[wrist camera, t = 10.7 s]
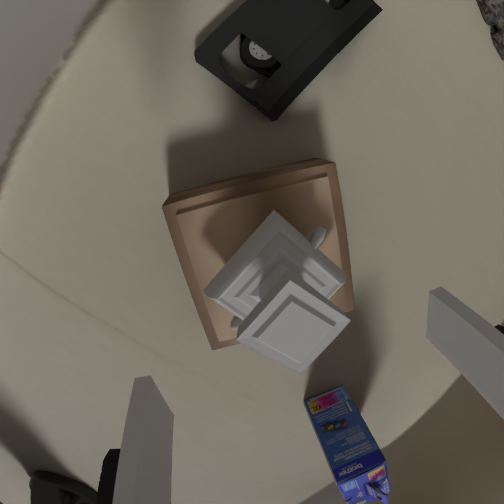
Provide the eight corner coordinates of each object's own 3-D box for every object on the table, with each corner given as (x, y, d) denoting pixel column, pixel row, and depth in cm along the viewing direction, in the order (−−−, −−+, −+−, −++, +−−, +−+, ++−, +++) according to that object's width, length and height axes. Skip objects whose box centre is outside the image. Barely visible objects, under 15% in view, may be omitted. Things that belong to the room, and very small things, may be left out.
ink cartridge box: (359, 423, 37) (399, 506, 24) (321, 439, 37) (353, 526, 24) (346, 381, 34) (397, 480, 20) (302, 400, 34) (338, 505, 20)
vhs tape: (304, -40, 18) (311, -50, 17) (372, 16, 21) (382, 9, 19) (192, 60, 21) (191, 54, 19) (271, 121, 24) (276, 120, 22)
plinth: (211, 323, 29) (212, 351, 25) (169, 195, 24) (161, 207, 20) (338, 288, 29) (355, 311, 25) (317, 158, 25) (336, 162, 21)
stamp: (262, 332, 25) (284, 412, 17) (193, 286, 22) (187, 363, 15) (343, 246, 23) (403, 301, 15) (277, 187, 21) (318, 219, 13)
